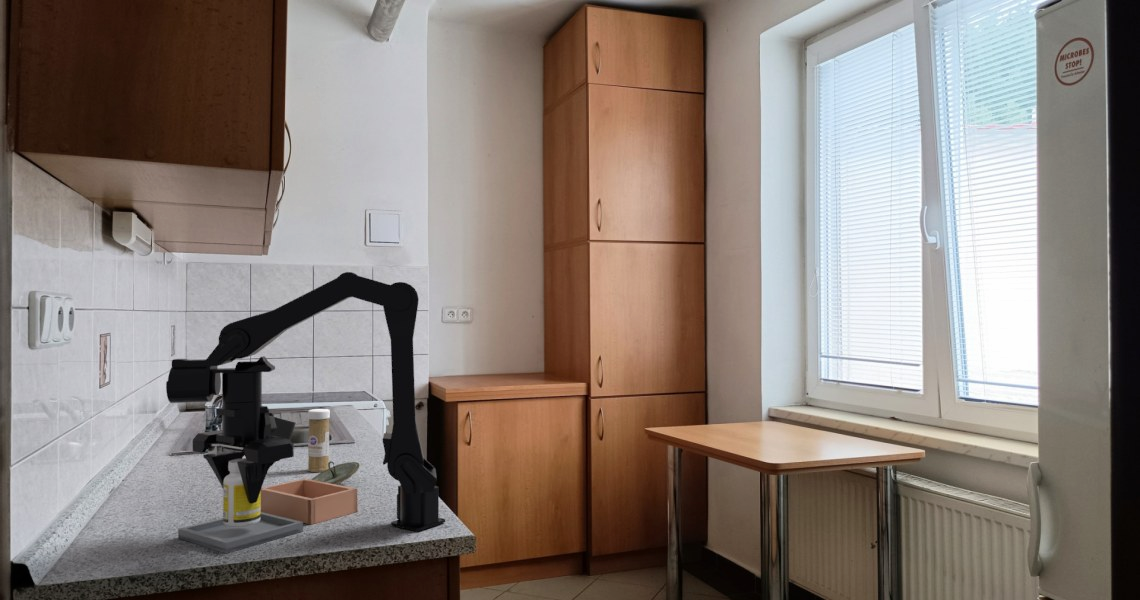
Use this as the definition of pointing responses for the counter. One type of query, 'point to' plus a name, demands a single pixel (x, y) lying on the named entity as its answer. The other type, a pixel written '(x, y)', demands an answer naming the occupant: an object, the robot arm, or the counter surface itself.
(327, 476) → the lid
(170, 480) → the counter surface
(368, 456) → the counter surface
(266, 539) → the tray
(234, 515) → the supplement bottle
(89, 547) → the counter surface
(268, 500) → the holder
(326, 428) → the sprinkles bottle
